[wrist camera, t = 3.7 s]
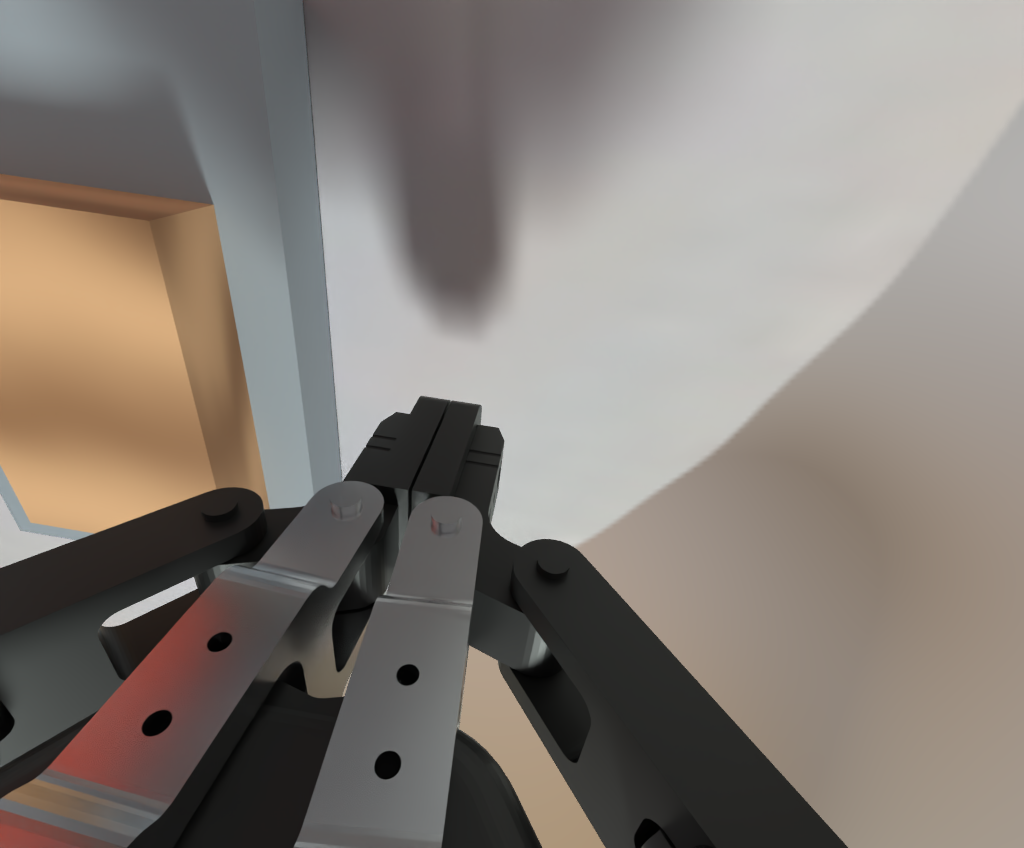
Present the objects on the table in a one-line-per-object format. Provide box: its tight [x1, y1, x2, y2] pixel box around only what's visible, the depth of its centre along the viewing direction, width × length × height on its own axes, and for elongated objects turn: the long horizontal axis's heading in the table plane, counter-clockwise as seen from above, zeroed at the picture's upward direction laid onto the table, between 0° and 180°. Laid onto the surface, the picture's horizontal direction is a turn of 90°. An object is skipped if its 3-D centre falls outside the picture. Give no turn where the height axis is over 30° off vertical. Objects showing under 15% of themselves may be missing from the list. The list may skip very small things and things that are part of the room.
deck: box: [0, 0, 342, 540], centre depth 14 cm, size 16×11×2 cm
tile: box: [0, 174, 270, 534], centre depth 13 cm, size 9×6×2 cm, turn 174°
